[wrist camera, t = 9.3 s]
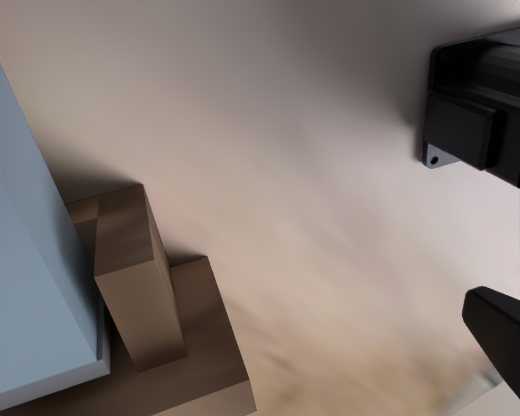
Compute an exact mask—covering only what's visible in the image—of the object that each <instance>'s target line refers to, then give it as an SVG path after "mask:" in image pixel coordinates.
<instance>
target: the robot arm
mask: <svg viewBox="0 0 520 416" xmlns="http://www.w3.org/2000/svg"><path fill="white" fill-rule="evenodd" d="M442 53H443V54H444V55H443V58H442V59H441V60H440V56H441V54H442ZM433 157H434V158H433ZM432 158H433V160H432V161H431V159H432ZM458 161H462V162H464V163H466V164H468V165H470V166H472V167H473V168H475V169H477V170H479V171H483V170H485V171H486V172H488V173H490V174H492V175H494V176H496V177H498V178H500V179H502V180H504V181H505V182H507V183H509V184H511V185H513V186H515V187H517V188H519V189H520V27H518V28H514V29H509V30H505V31H500V32H496V33H491V34H487V35H483V36H478V37H474V38H469V39H465V40H461V41H456V42H452V43H447V44H443V45H439V46H437V47H436V48H435V49H434V50H433V51H432V53H431V57H430V66H429V79H428V91H427V102H426V114H425V127H424V141H423V154H422V163H423V165H425V166H426V167H428V168H430V169H434V168H437V167H441V166H444V165H447V164H451V163H454V162H458ZM462 317H463V320H464V323H465V324H466V326H467V327H468V329H469V330H470V332H471V333H472V335H473V336H474V338H475V339H476V340H477V342H478V343H479V345H480V346H481V348H482V349H483V351H484V352H485V354H486V355H487V357H488V358H489V360H490V361H491V362H492V364H493V365H494V367H495V368H496V370H497V371H498V373H499V374H500V375H501V377H502V378H503V379H504V380H505V382H506V383H507V384H508V386H509V387H510V388H511V389H512V390H513V391H514V393H515V394H516V395H517V396H518V398H519V399H520V300H518V299H515V298H513V297H510V296H508V295H505V294H503V293H500V292H498V291H495V290H493V289H490V288H488V287H484V286H479V287H476V288H473V289H470V290H468V291H467V292H466V294H465V299H464V304H463V310H462Z"/></svg>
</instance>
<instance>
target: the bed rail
mask: <svg viewBox="0 0 520 416" xmlns="http://www.w3.org/2000/svg"><path fill="white" fill-rule="evenodd" d="M107 374H110V311H109V309H108V307H107V305H106V303H105V300H104V298H103V296H102V294H101V292H100V290H99V287H98V285H97V283H96V281H95V279H94V268H93V266H92V264H91V262H90V259H89V257H88V255H87V253H86V251H85V248H84V246H83V244H82V242H81V240H80V238H79V235H78V233H77V231H76V229H75V227H74V224H73V222H72V220H71V218H70V216H69V213H68V211H67V209H66V207H65V205H64V202H63V200H62V198H61V196H60V194H59V192H58V189H57V187H56V185H55V183H54V181H53V178H52V176H51V174H50V172H49V170H48V167H47V165H46V163H45V161H44V159H43V157H42V154H41V152H40V150H39V148H38V146H37V143H36V141H35V139H34V137H33V135H32V132H31V130H30V128H29V126H28V124H27V121H26V119H25V117H24V115H23V113H22V111H21V108H20V106H19V104H18V102H17V100H16V97H15V95H14V93H13V91H12V89H11V86H10V84H9V82H8V80H7V78H6V75H5V73H4V71H3V69H2V67H1V65H0V411H1V410H4V409H7V408H10V407H13V406H16V405H19V404H22V403H25V402H27V401H30V400H33V399H36V398H39V397H42V396H45V395H48V394H51V393H54V392H57V391H60V390H63V389H66V388H68V387H71V386H74V385H77V384H80V383H83V382H86V381H89V380H92V379H95V378H98V377H101V376H104V375H107Z"/></svg>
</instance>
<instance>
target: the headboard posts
mask: <svg viewBox="0 0 520 416" xmlns="http://www.w3.org/2000/svg"><path fill="white" fill-rule="evenodd" d="M64 205H65V207H66V209H67V211H68V213H69V216H70V218H71V220H72V222H73V224H74V227H75V229H76V231H77V233H78V235H79V238H80V240H81V242H82V244H83V246H84V248H85V251H86V253H87V255H88V257H89V259H90V262H91V264H92V266H93V268H94V279H95V281H96V283H97V285H98V287H99V290H100V292H101V294H102V296H103V298H104V300H105V303H106V305H107V307H108V309H109V311H110V374H107V375H104V376H101V377H98V378H95V379H92V380H89V381H86V382H83V383H80V384H77V385H74V386H71V387H68V388H66V389H63V390H60V391H57V392H54V393H51V394H48V395H45V396H42V397H39V398H36V399H33V400H30V401H27V402H25V403H22V404H19V405H16V406H13V407H10V408H7V409H4V410H1V411H0V416H245V415H248V414H250V413H253V412H255V411H257V409H256V405H255V401H254V396H253V392H252V388H251V384H250V380H249V377H248V374H247V371H246V368H245V365H244V362H243V359H242V356H241V353H240V350H239V347H238V345H237V342H236V339H235V336H234V333H233V330H232V327H231V324H230V321H229V318H228V315H227V312H226V309H225V306H224V303H223V301H222V298H221V295H220V292H219V289H218V286H217V283H216V280H215V277H214V274H213V271H212V268H211V265H210V262H209V260H208V257H203V258H200V259H197V260H194V261H190V262H187V263H184V264H180V265H177V266H174V267H170V265H169V262H168V259H167V256H166V253H165V250H164V247H163V244H162V241H161V238H160V235H159V232H158V229H157V225H156V222H155V219H154V216H153V213H152V210H151V207H150V204H149V201H148V198H147V195H146V192H145V189H144V186H143V184H141V185H138V186H134V187H130V188H126V189H122V190H118V191H114V192H111V193H107V194H103V195H99V196H95V197H91V198H87V199H84V200H80V201H76V202H72V203H68V204H64Z"/></svg>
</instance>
